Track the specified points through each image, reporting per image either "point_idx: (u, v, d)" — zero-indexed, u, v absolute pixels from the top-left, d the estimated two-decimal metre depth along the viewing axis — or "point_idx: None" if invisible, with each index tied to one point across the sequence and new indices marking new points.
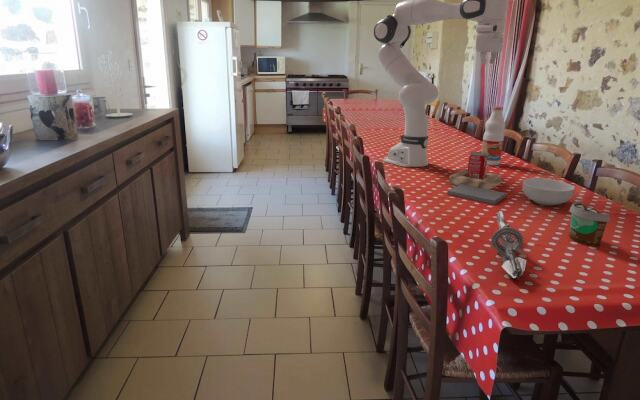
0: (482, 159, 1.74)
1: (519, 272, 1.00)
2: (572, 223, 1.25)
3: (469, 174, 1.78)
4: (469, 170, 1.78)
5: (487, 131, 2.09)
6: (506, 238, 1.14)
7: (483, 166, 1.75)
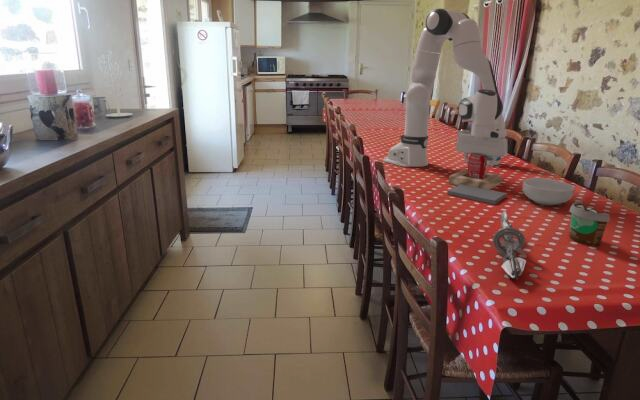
0: (482, 159, 1.74)
1: (518, 272, 1.00)
2: (572, 223, 1.25)
3: (469, 174, 1.78)
4: (469, 170, 1.78)
5: None
6: (508, 238, 1.14)
7: (483, 166, 1.75)
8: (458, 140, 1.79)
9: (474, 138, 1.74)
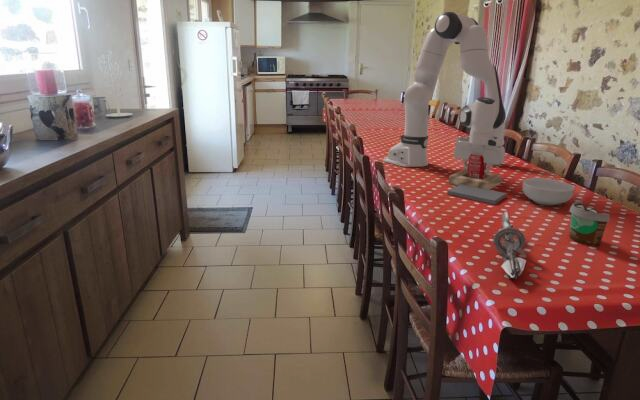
0: (482, 159, 1.74)
1: (517, 272, 1.00)
2: (572, 223, 1.25)
3: (469, 174, 1.78)
4: (469, 170, 1.78)
5: None
6: (508, 238, 1.14)
7: (483, 166, 1.75)
8: (456, 147, 1.80)
9: (472, 145, 1.75)
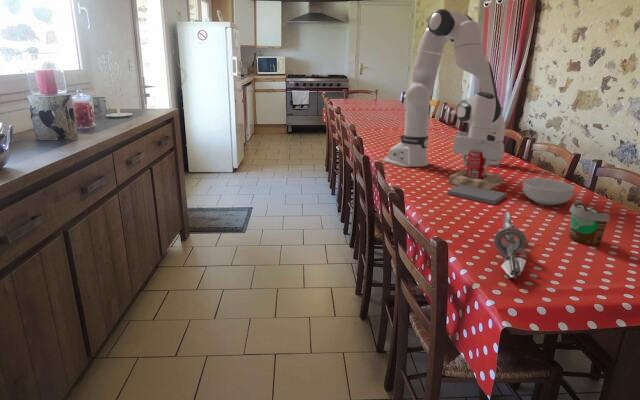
0: (482, 156, 1.73)
1: (517, 272, 1.00)
2: (572, 223, 1.25)
3: (468, 171, 1.77)
4: (468, 167, 1.77)
5: None
6: (509, 238, 1.14)
7: (483, 163, 1.74)
8: (455, 142, 1.80)
9: (471, 140, 1.75)
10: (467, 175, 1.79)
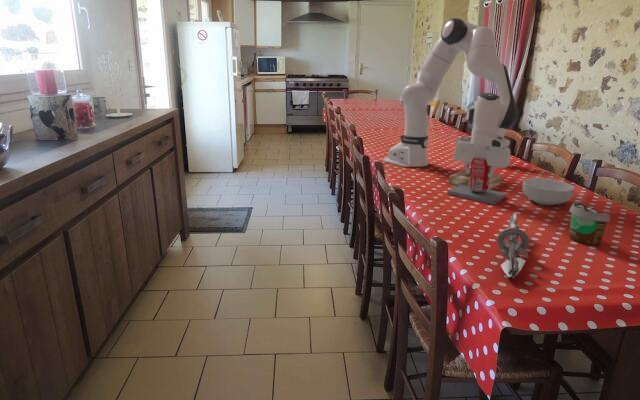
0: (486, 163, 1.57)
1: (515, 271, 1.00)
2: (572, 223, 1.25)
3: (472, 180, 1.61)
4: (472, 175, 1.61)
5: None
6: (512, 239, 1.14)
7: (487, 171, 1.59)
8: (456, 148, 1.64)
9: (474, 146, 1.59)
10: (470, 184, 1.63)
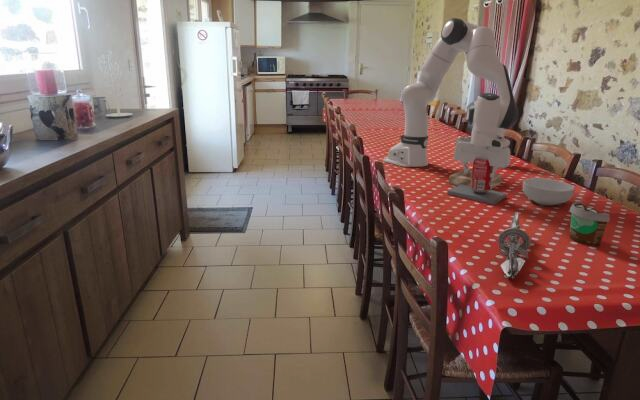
0: (488, 164, 1.57)
1: (514, 271, 1.00)
2: (572, 223, 1.25)
3: (474, 180, 1.61)
4: (474, 176, 1.61)
5: None
6: (513, 239, 1.14)
7: (489, 171, 1.58)
8: (456, 148, 1.64)
9: (474, 146, 1.59)
10: (472, 185, 1.62)
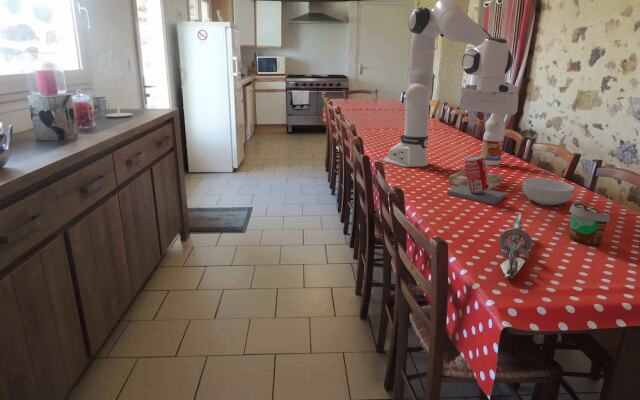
0: (479, 163, 1.57)
1: (513, 271, 1.00)
2: (572, 223, 1.25)
3: (470, 182, 1.60)
4: (469, 178, 1.60)
5: (487, 131, 2.09)
6: (514, 239, 1.14)
7: (483, 170, 1.58)
8: (462, 97, 1.58)
9: (480, 94, 1.53)
10: (470, 187, 1.62)
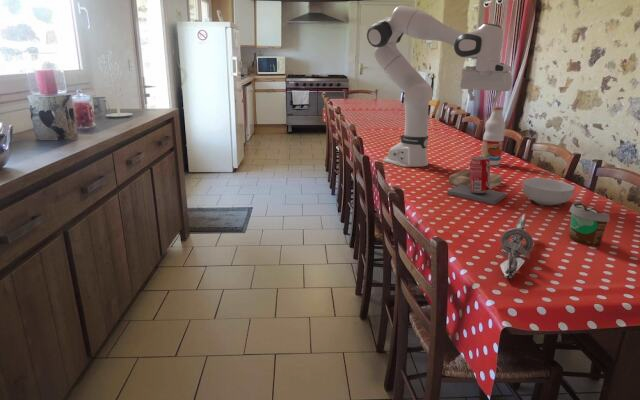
0: (483, 163, 1.57)
1: (512, 271, 1.01)
2: (572, 223, 1.25)
3: (471, 181, 1.61)
4: (471, 177, 1.61)
5: (487, 131, 2.09)
6: (516, 239, 1.14)
7: (485, 171, 1.58)
8: (463, 77, 1.80)
9: (479, 73, 1.75)
10: (470, 186, 1.62)
